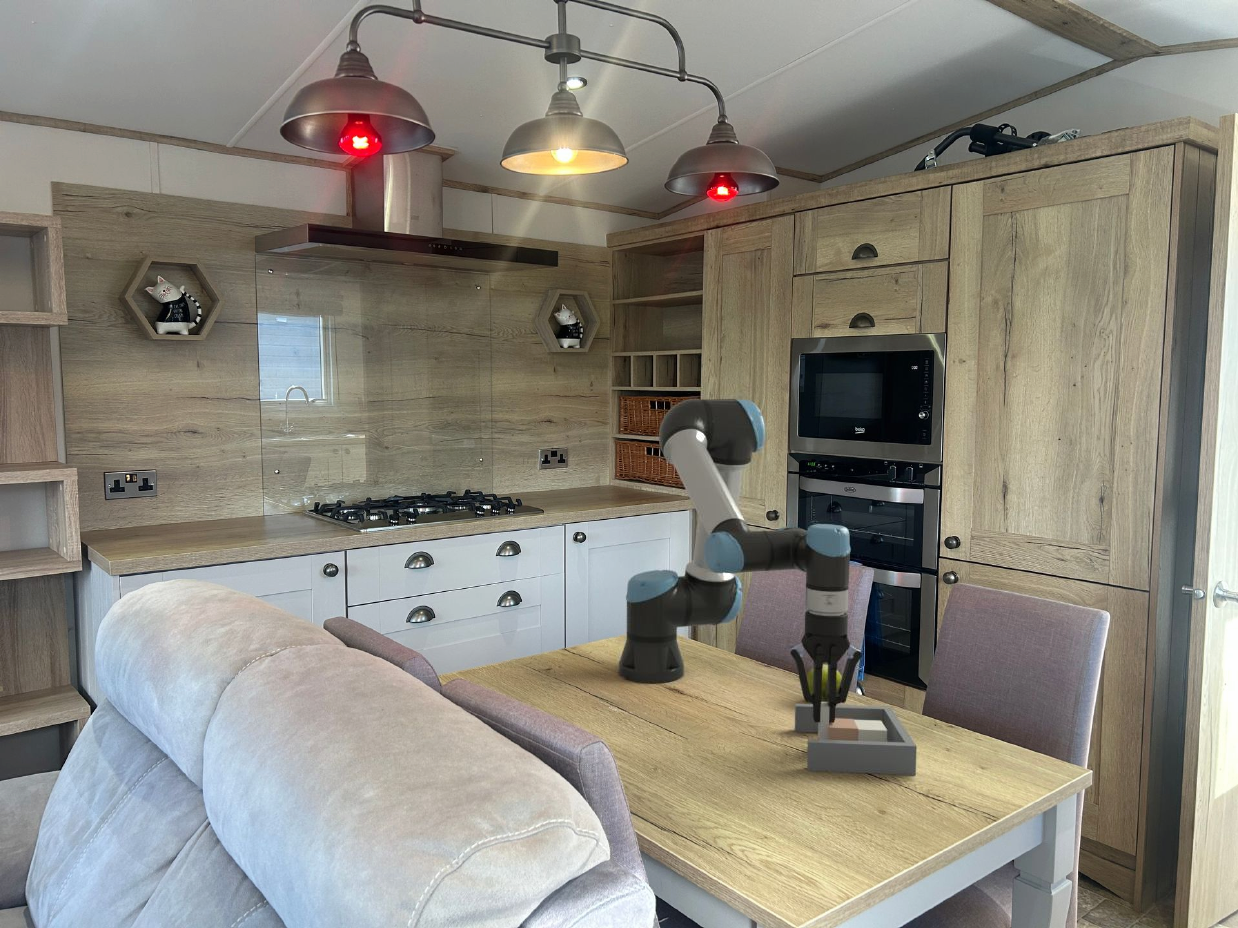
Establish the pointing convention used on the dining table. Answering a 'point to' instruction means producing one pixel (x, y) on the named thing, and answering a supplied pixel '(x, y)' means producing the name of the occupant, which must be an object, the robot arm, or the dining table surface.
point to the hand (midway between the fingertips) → (823, 739)
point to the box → (859, 743)
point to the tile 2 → (871, 730)
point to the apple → (823, 682)
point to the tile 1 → (843, 730)
